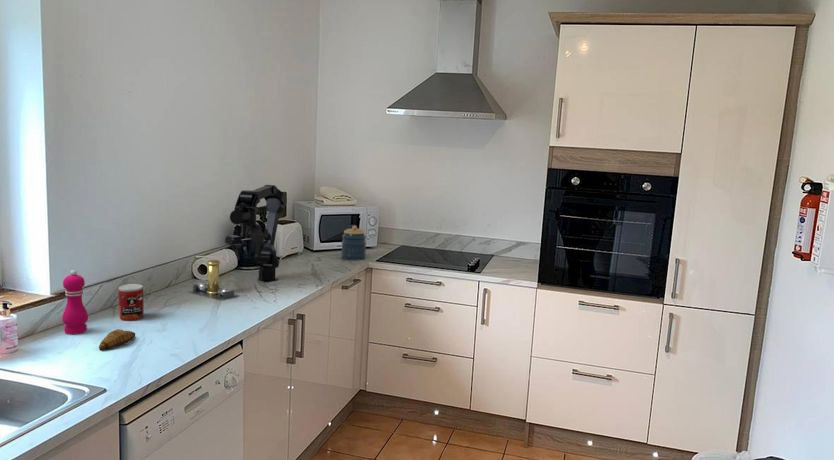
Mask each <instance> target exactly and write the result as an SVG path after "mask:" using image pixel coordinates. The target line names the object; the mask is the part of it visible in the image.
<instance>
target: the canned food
mask: <svg viewBox="0 0 834 460" xmlns="http://www.w3.org/2000/svg"><path fill="white" fill-rule="evenodd" d="M118 311H119V312H118V313H119V315H118V316H119V319H120V320H121V321H124V322H125V321H126V322H130V321H131V322H133V321H138V320H141V319H143V317H144V312H145V308H144V286H143V285H142V284H139V283H129V284H127V283H126V284H123V285H120V286H119V287H118Z"/></svg>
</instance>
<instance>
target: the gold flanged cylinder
mask: <svg viewBox="0 0 834 460" xmlns="http://www.w3.org/2000/svg"><path fill="white" fill-rule="evenodd" d="M220 263H221V261H220V260H216V259H210V260H207V261H206V265H207V268H206V269H207V284H208V290H207V294H209V295H216V294H218V289H219V288H220Z"/></svg>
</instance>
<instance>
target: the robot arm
mask: <svg viewBox="0 0 834 460" xmlns="http://www.w3.org/2000/svg"><path fill="white" fill-rule="evenodd" d="M262 199H264V200H265V202H266V209H267V211H268V214H267V218H266V225H265V228H262V229H261V228H259V224H258V223H257V210H259V207H258V204H260V203H261V200H262ZM287 202H288V199H287V196H286V195H285V193H284V192H283V191H281V190H280V189H279V188H278V186H277V185H272V184H264V185H263V186H261V187H258V188H256V189H251V190H249V189H247V190H245V189H244V190H241V191H240V193H239V194H238V197H237V200H236V203H235V204H234V210H232V211H231V212H230V215H229V220H230V222H231V223H232V224H234V225H237V226H238V225H239V226H240V227H241V232H240V233H239V235H236V234H234V235H233V234H231V235H227V236H226V237H225V239H224V242H225V243H226V244H228V245H229V246H231V248H232V250H233V252H234V253H235V256H236V258H237V260H238V261H240V260H241V247H242V246H243V244H242V242H246V241H252V242H253V243H255V250H256V253H255V256H254V260H255V265H256V267H259V270H258V277H257V280H258V281H261V282H264V283H269V282H274V281H278V278H276V269H277V268H279V265H280V260H279V258H278V257H277V250H276V247H275V241H276V235H277V229H278V225H279V220H280V215H281V214H282V212H283V211H284V210H285V208H286V206H287Z"/></svg>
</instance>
